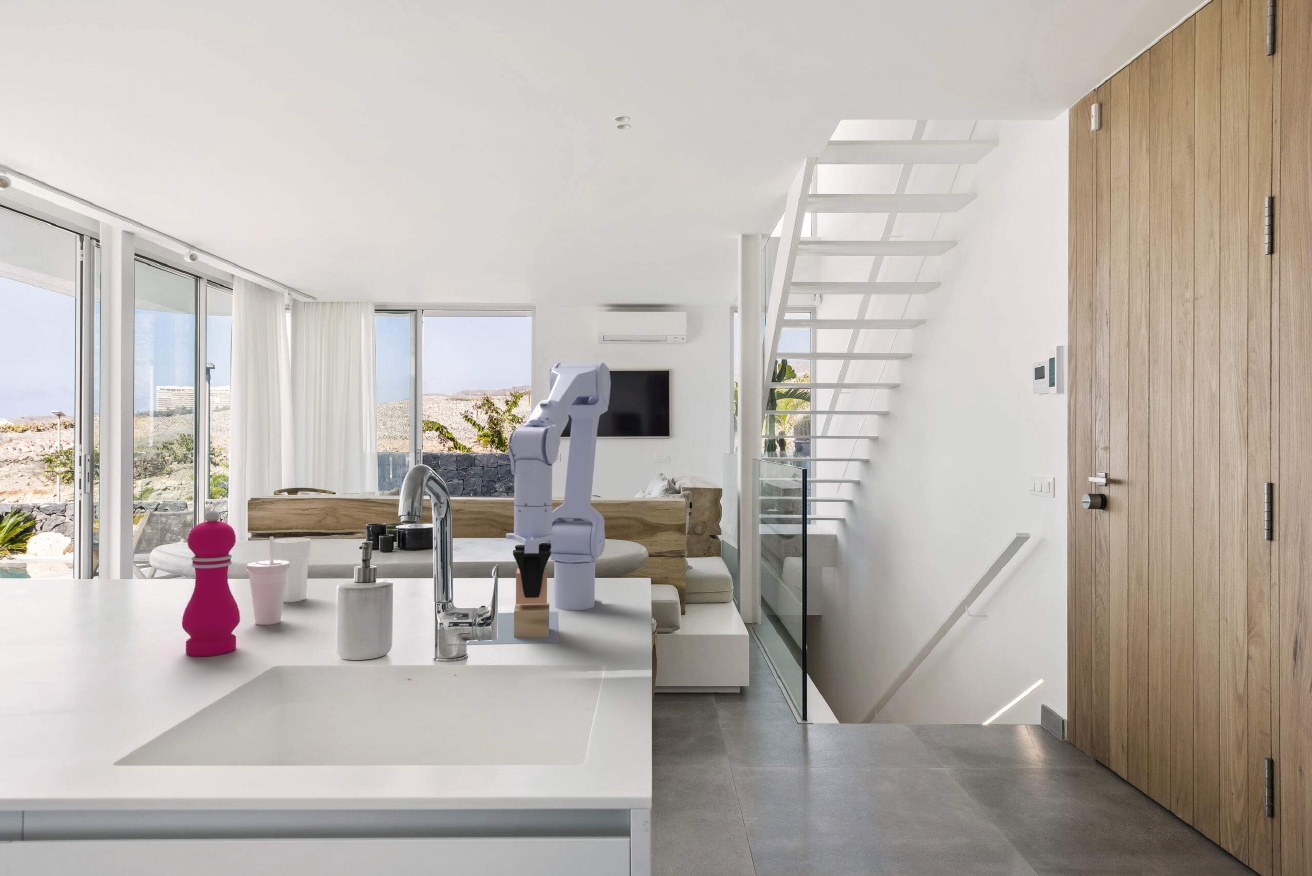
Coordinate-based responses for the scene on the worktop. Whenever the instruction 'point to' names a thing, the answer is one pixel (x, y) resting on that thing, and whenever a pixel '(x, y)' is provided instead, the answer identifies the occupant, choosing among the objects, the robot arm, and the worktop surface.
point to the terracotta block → (522, 600)
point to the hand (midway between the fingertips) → (532, 593)
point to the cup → (294, 565)
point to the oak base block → (531, 620)
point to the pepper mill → (211, 590)
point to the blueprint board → (508, 637)
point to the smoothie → (268, 588)
